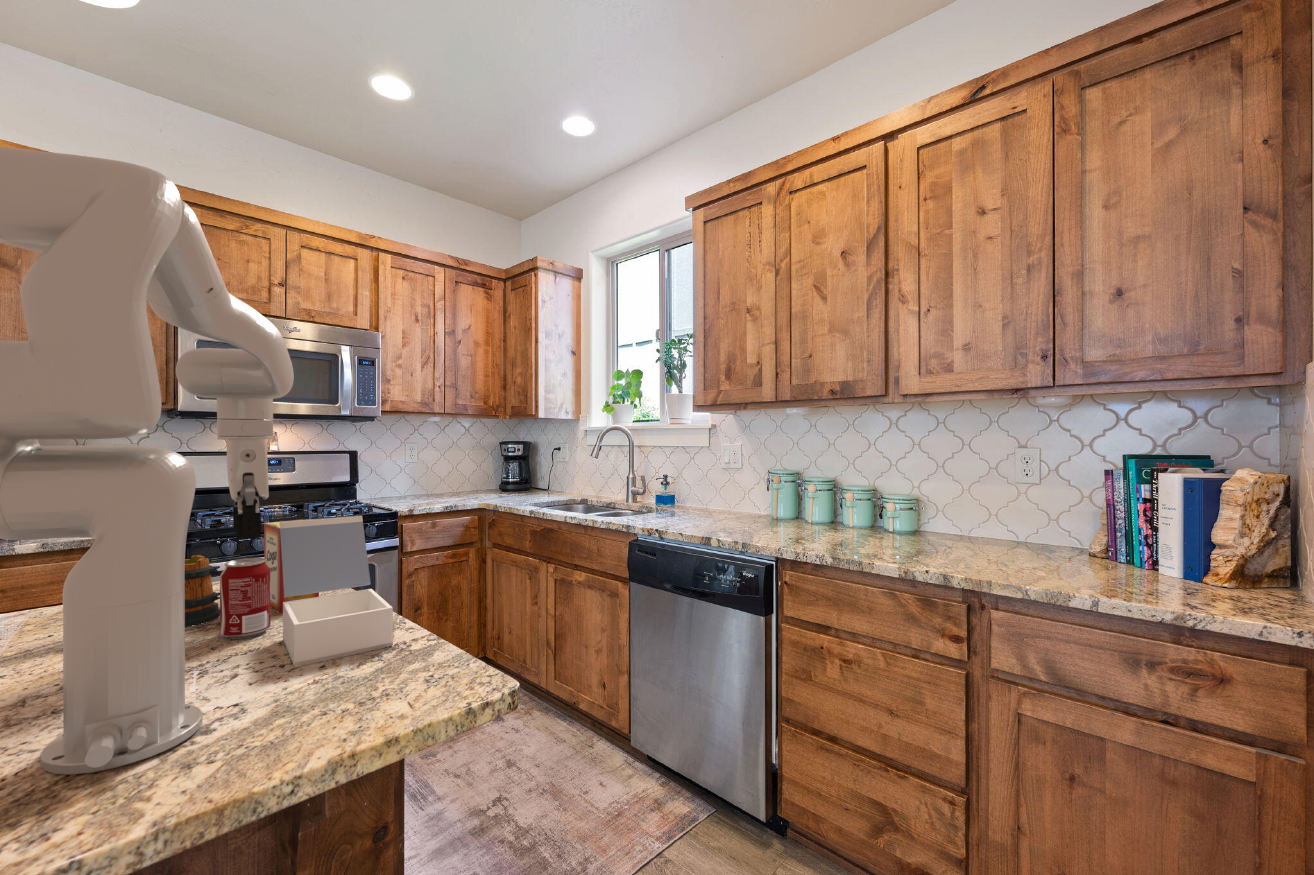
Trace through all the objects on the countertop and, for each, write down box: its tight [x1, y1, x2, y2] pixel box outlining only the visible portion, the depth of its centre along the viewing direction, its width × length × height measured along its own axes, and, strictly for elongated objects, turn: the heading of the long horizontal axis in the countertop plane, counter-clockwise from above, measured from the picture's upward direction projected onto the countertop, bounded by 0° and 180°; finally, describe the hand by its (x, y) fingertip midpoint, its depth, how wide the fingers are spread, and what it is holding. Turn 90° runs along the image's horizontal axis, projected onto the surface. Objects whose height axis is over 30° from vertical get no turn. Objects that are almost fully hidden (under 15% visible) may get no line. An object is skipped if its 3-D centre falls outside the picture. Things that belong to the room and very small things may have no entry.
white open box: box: [282, 588, 394, 668], centre depth 90 cm, size 14×13×6 cm
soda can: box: [219, 557, 271, 640], centre depth 94 cm, size 7×7×12 cm
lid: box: [279, 515, 372, 598], centre depth 98 cm, size 13×13×1 cm
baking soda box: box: [263, 519, 320, 614], centre depth 111 cm, size 10×6×16 cm
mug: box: [185, 554, 221, 628], centre depth 100 cm, size 13×10×12 cm
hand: (246, 533), depth 95 cm, fingers open, 9 cm apart
